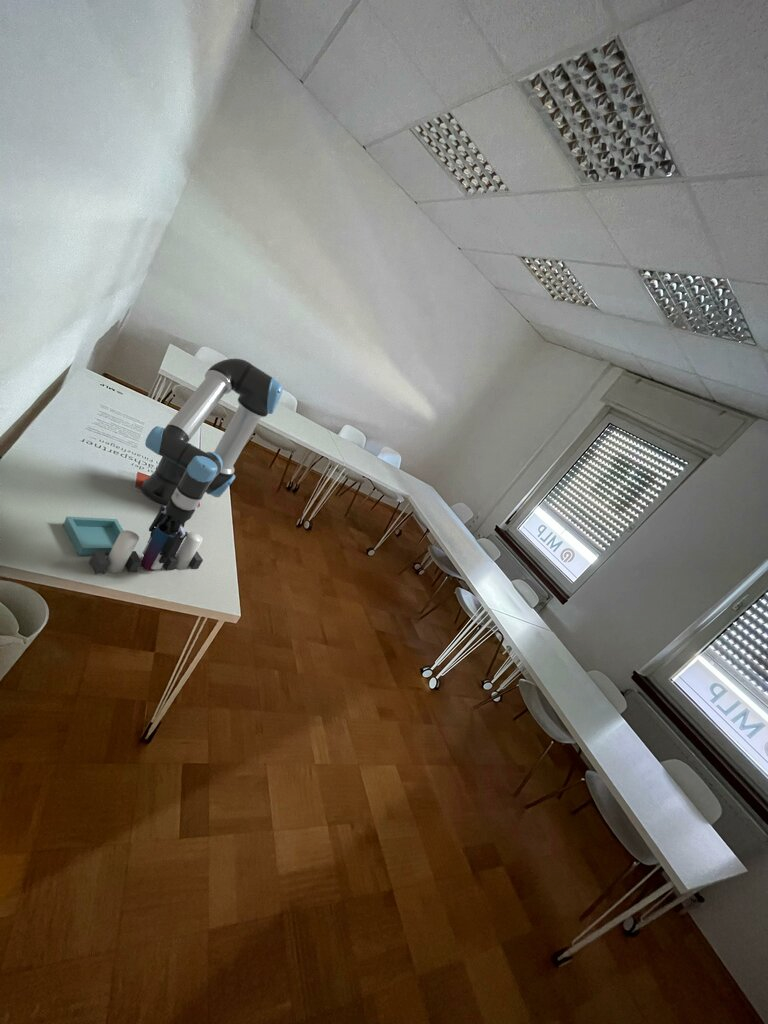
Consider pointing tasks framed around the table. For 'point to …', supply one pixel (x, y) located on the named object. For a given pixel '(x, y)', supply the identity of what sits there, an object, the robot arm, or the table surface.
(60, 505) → the table surface
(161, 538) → the cup
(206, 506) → the table surface
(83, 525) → the tray
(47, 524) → the table surface
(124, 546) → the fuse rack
